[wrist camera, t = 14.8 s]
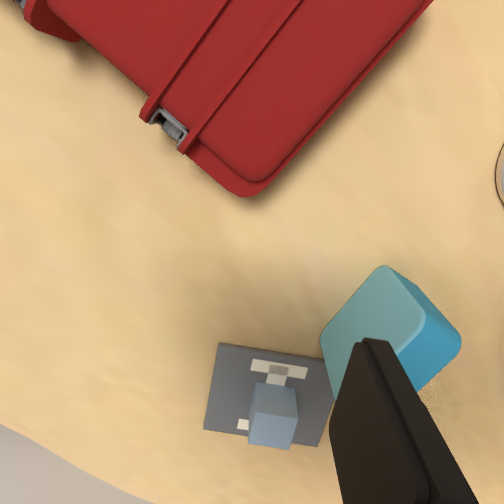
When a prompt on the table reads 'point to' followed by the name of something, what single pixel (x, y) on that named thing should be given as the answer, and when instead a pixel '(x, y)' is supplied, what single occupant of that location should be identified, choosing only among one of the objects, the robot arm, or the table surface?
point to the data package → (391, 328)
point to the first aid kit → (235, 68)
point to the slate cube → (272, 416)
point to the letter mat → (273, 372)
